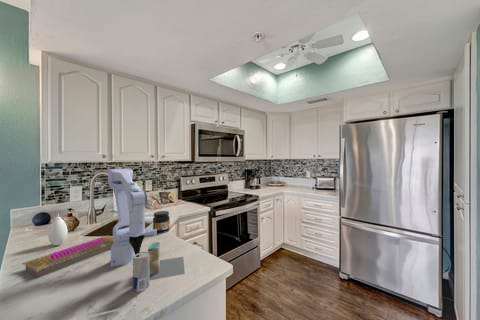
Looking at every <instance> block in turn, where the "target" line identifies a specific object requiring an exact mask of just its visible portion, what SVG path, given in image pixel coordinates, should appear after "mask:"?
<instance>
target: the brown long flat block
mask: <svg viewBox="0 0 480 320" xmlns="http://www.w3.org/2000/svg"><path fill="white" fill-rule="evenodd" d="M113 244H114V241H113V236H111V235H105V236H101V237H100V238H99V237H98V238H95V239H93V240H89V241H86V242H83V243H80V244H77V245H74V246H71V247H68V248H65V249H62V250H59V251H55V252H53V253H50V254H46V255H44V256H41V257H38V258H36V259H35V258H34V259H31V260H29V261H25V262H23V263H21V264H22V265H24V266H25V271H26V272H28V273H30V274H32V275H34V276H35V277H37V278H42V277H45V276H46V275H49V274H52V273H55V272H56V271H57V272H58V271H59V270H62V269H64V268H67V267H70V266H72V265H75V264H78V263H80V262H82V261H85V260H87V259H90V258H93V257H95V256H98V255H100V254H102V253H105V252H107V251H111V247H112V245H113ZM67 258H68V259H67Z"/></svg>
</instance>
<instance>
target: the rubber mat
mask: <svg viewBox="0 0 480 320" xmlns="http://www.w3.org/2000/svg"><path fill="white" fill-rule="evenodd" d="M185 273H186V272H185V261H184V256H180V257H173V258H167V259H160V267H159V272H158V273H152V274H150V281H152V280H153V281H154V280H158V279H164V278H170V277H173V276H174V277H175V276H180V275H184V274H185Z"/></svg>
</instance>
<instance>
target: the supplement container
mask: <svg viewBox="0 0 480 320" xmlns="http://www.w3.org/2000/svg"><path fill="white" fill-rule="evenodd" d="M170 219H171V217H170V212H169V211H168V210H160V211H156V212H153V218H152V229H157V233H159V234H161V233H165V232H168V231H169V230H170V229H171V226H170V225H171V224H170V221H171V220H170Z"/></svg>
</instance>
